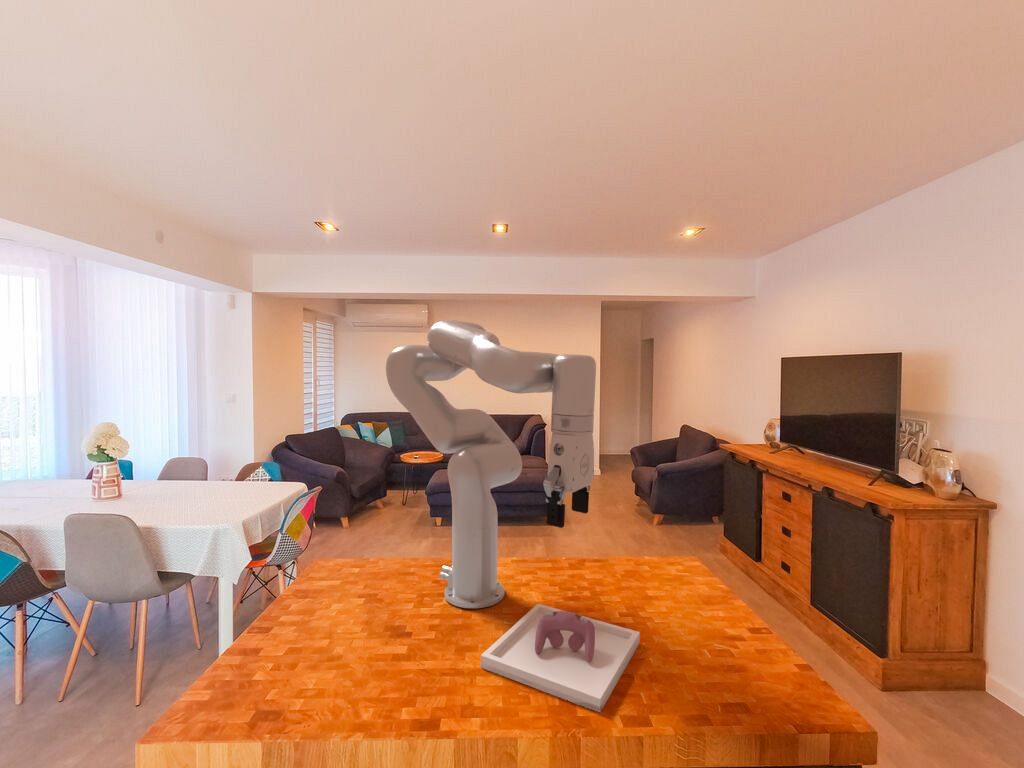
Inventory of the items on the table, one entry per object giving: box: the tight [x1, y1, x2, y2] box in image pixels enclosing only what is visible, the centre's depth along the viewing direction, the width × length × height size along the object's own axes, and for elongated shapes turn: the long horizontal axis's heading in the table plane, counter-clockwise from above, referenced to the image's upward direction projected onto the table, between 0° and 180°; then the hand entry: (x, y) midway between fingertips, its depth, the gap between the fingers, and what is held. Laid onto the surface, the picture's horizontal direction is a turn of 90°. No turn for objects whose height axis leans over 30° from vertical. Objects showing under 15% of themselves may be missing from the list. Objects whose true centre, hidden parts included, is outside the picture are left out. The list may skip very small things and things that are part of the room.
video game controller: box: [535, 610, 595, 663], centre depth 81 cm, size 10×5×7 cm, turn 75°
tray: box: [480, 603, 641, 713], centre depth 81 cm, size 20×20×2 cm
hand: (568, 518), depth 87 cm, fingers open, 9 cm apart
